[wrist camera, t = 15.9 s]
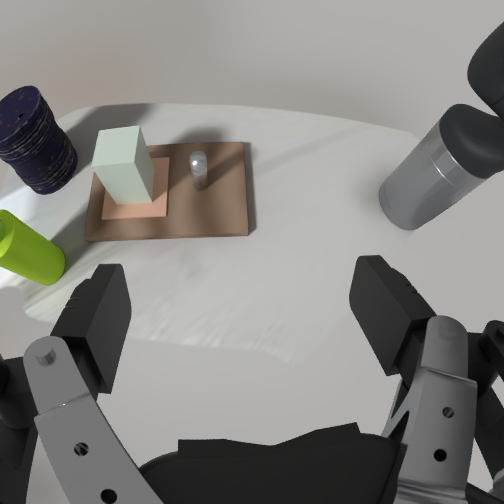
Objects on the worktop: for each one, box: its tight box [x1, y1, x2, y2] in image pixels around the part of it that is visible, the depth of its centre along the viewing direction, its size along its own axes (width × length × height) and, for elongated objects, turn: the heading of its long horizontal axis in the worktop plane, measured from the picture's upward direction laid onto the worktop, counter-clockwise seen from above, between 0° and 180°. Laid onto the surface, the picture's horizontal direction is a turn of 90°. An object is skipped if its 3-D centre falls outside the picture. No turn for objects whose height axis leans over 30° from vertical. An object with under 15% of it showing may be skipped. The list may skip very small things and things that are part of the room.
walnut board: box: [84, 142, 248, 242], centre depth 41 cm, size 22×14×2 cm, turn 93°
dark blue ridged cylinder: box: [0, 86, 78, 195], centre depth 35 cm, size 10×10×15 cm
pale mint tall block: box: [91, 126, 155, 205], centre depth 35 cm, size 5×5×10 cm
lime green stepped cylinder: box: [0, 210, 65, 285], centre depth 28 cm, size 6×7×20 cm
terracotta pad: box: [102, 157, 170, 220], centre depth 40 cm, size 9×9×1 cm
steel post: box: [189, 151, 208, 191], centre depth 38 cm, size 2×2×6 cm
